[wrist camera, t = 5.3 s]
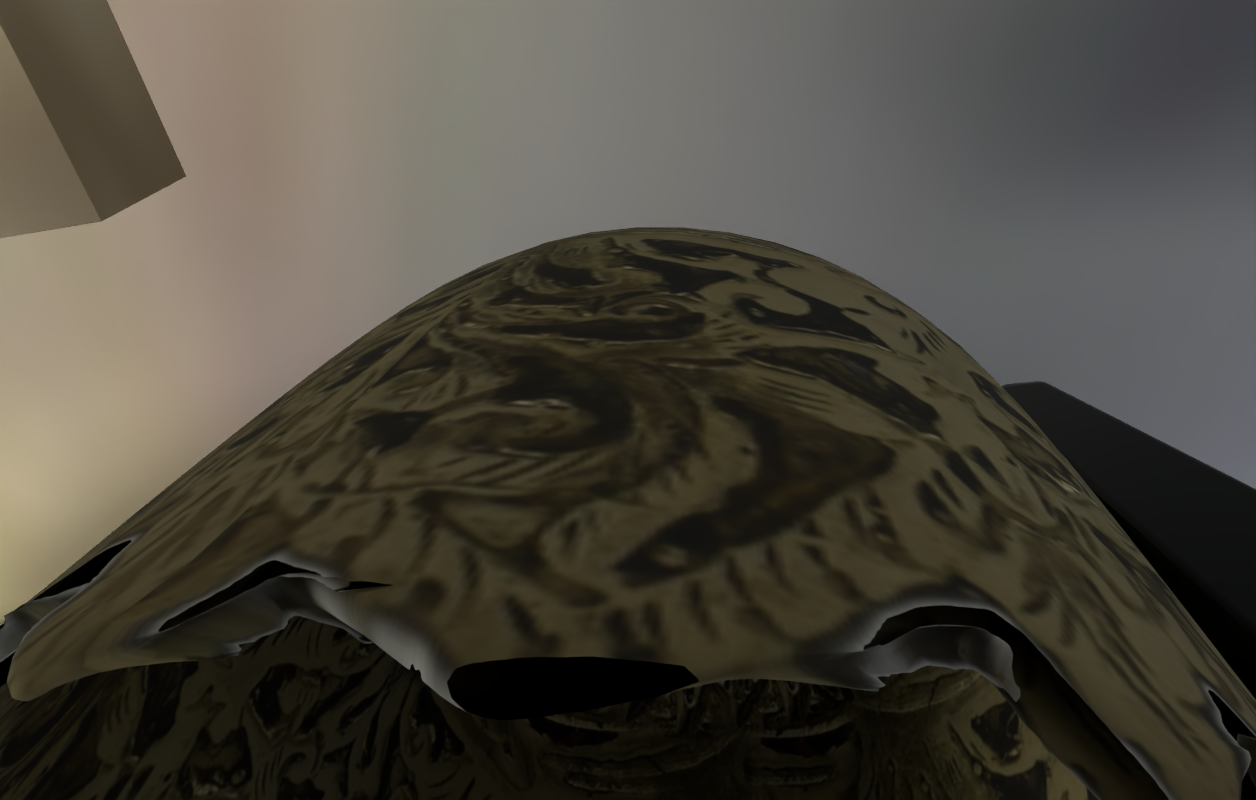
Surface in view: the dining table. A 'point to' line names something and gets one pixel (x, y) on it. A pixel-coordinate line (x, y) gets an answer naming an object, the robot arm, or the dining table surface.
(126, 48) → the trapdoor
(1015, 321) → the dining table surface
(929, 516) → the bronze domed piece
